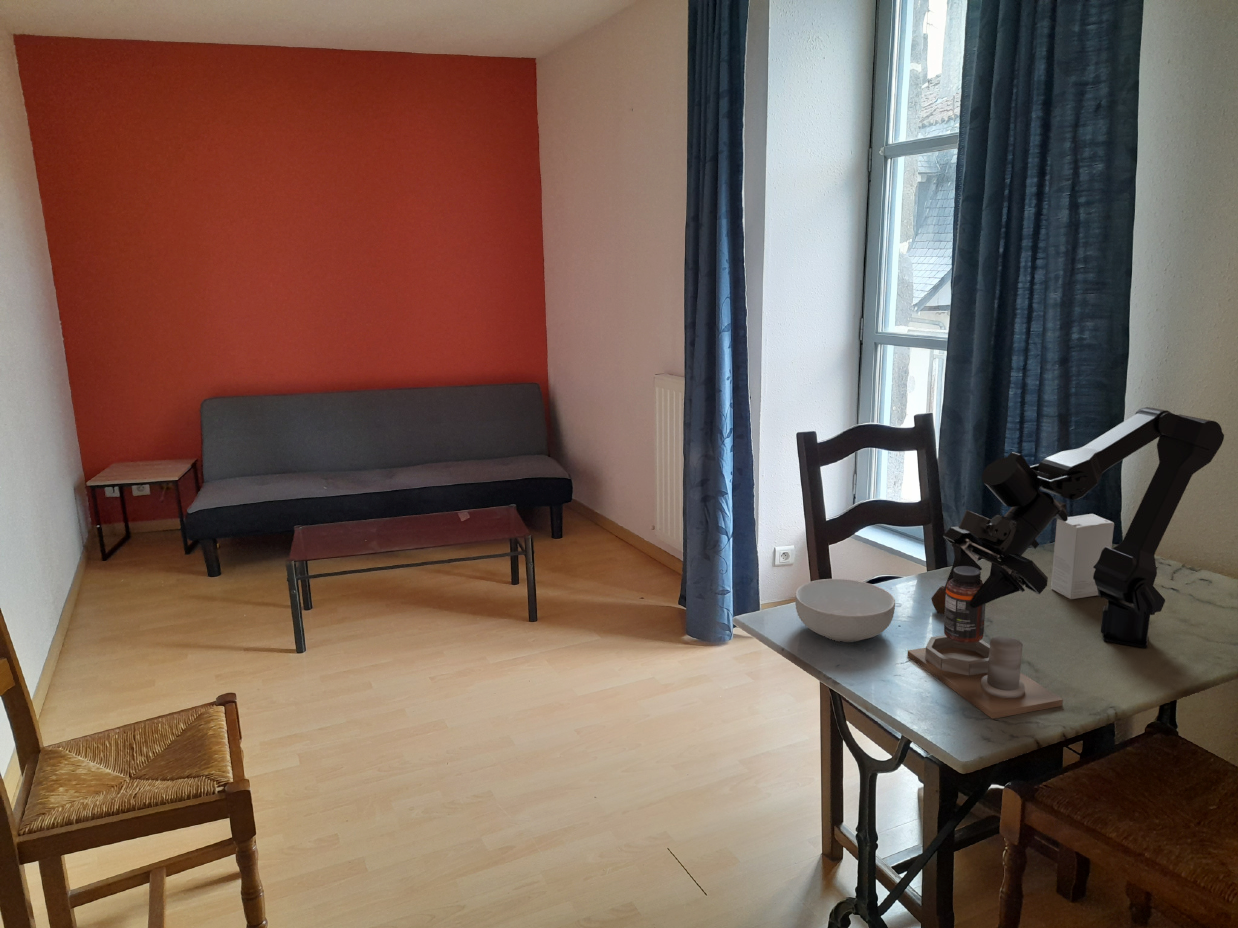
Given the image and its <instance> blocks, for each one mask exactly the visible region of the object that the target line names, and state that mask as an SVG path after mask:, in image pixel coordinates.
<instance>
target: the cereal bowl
mask: <svg viewBox="0 0 1238 928" xmlns="http://www.w3.org/2000/svg"><path fill="white" fill-rule="evenodd" d="M794 598H795V599H794V600H795V609H796V613H797V616H798V618H799V619H800V621H801V622H802V624H803V625H804V626H805V627H807V628H808V629H810V630H811V631H812V632H815V633H816V634H818V635H820V636H823V637H824V636H825V637H824V638H826V639H828V638H829V640H831V639H832V640H831V641H834V640H835V642H840V641H843V642H842V643H853V642H852V641H855V642H860V641H862V640H867V639H871V638H874V637H876V636H878V635H881V633H883V632H884V631H885V630H886V629H888V627H890V625H891V624H892V621H893V619H894V615H895V609H896V599H895V597H894V596H893V594H892V593H890V592H889V591H888V590H885V589H884V588H882V587H879V586H877V585H875V584H872V583H869V582H865V581H859V580H854V579H847V578H826V579H817V580H812V581H809V582H808V581H807V582H806V583H804V584H801V586H799V587H798V588H797V589H796V591H795V596H794Z"/></svg>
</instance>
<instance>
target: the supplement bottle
mask: <svg viewBox="0 0 1238 928" xmlns="http://www.w3.org/2000/svg"><path fill="white" fill-rule="evenodd" d="M953 577H954V578H953V579H951V580H950V581H948V583H947V585H946V584H945V585H946V599H945V615H944V624H943V634H944V635H946V636H947V637H948V638H949V639H951V640H953V641H957V642H962V643H974V642H978V641H980V640H983V639H984V638H983V637H984V633H985V621H986V620H985V619H986V618H985V617H986V616H985V615H986V604H987V603H986V604H984V605H981V606H979V607H976V608H972V607H971V606H970V605H969V603H970V601H971V600H972V598H973V596H974V595H975V594H976V592H977V591H978V590H979V589H980V587H981V586H982V585H983V584H984V582H983V581H982V582H981V581H980V579H981V570H979V569H977V568H974V567H970V566H958V567H956V568H954V571H953ZM981 580H982V579H981Z"/></svg>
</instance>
